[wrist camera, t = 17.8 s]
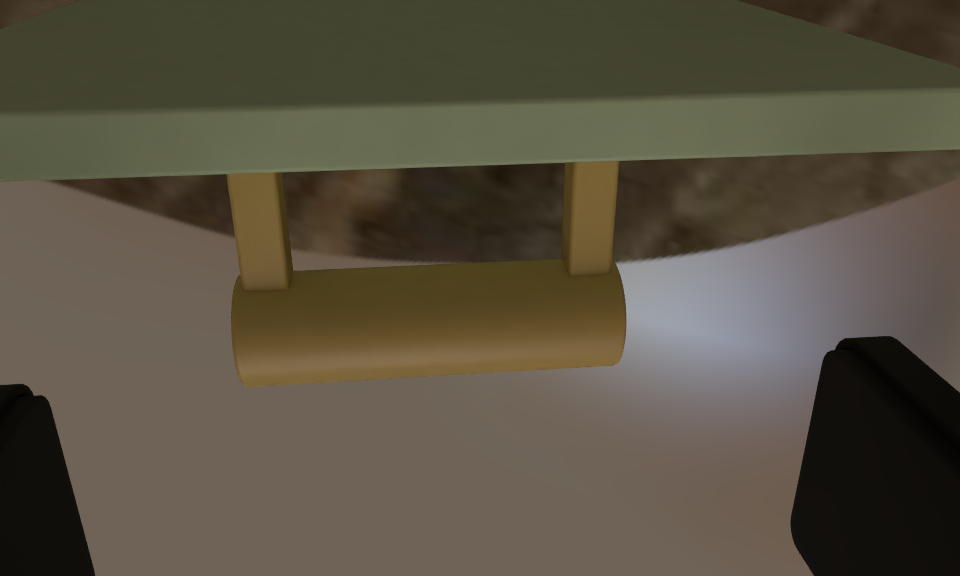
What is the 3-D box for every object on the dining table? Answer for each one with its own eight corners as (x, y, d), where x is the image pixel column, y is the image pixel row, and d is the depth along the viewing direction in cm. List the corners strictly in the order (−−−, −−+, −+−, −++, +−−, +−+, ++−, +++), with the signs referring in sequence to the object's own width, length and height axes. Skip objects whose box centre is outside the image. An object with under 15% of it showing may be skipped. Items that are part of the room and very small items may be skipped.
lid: (-258, 119, 9) (-110, 494, 11) (1026, 86, 10) (929, 423, 12) (143, -24, 23) (172, 148, 26) (643, -29, 25) (630, 133, 27)
